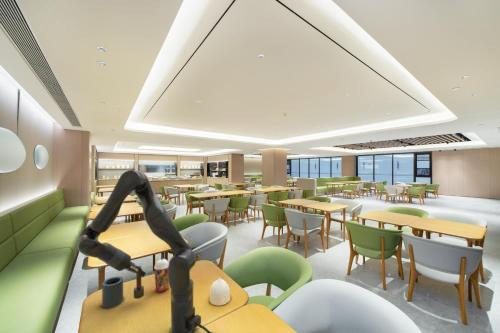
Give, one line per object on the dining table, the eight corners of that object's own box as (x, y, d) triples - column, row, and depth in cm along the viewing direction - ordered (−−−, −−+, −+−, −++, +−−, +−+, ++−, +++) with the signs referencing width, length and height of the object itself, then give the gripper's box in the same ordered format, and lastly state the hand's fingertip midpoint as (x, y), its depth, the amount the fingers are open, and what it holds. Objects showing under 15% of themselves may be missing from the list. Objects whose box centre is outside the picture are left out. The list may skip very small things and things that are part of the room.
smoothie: (164, 294, 116) (164, 258, 116) (150, 292, 118) (150, 256, 118) (172, 286, 124) (172, 252, 124) (160, 284, 126) (160, 251, 126)
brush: (145, 295, 109) (145, 266, 109) (136, 299, 106) (136, 269, 106) (140, 292, 112) (140, 263, 112) (132, 296, 108) (131, 267, 108)
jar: (126, 300, 111) (126, 279, 111) (107, 310, 103) (107, 287, 103) (118, 295, 116) (117, 274, 116) (99, 303, 108) (99, 282, 109)
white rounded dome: (233, 301, 110) (233, 278, 110) (213, 308, 105) (213, 283, 105) (225, 290, 120) (225, 269, 120) (206, 296, 115) (206, 273, 115)
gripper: (130, 254, 99) (155, 270, 109) (116, 248, 106) (140, 263, 117) (118, 270, 94) (145, 285, 104) (104, 263, 102) (130, 277, 112)
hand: (142, 273), depth 111 cm, fingers closed on brush
